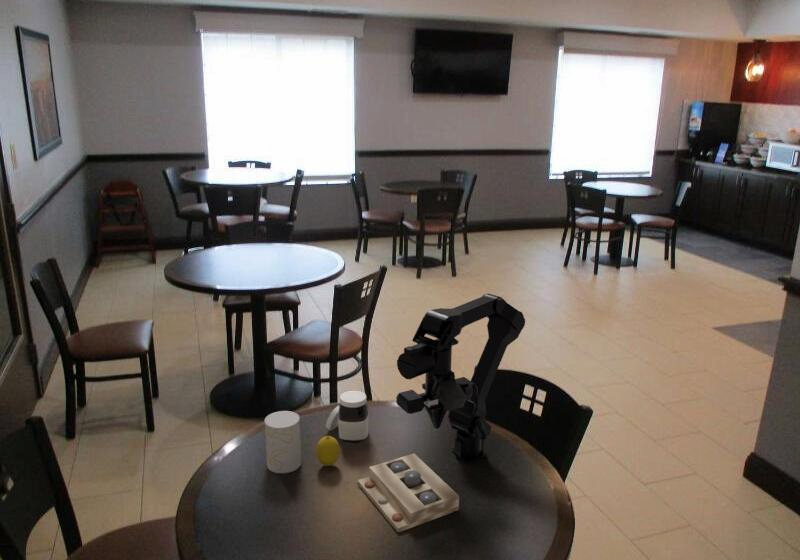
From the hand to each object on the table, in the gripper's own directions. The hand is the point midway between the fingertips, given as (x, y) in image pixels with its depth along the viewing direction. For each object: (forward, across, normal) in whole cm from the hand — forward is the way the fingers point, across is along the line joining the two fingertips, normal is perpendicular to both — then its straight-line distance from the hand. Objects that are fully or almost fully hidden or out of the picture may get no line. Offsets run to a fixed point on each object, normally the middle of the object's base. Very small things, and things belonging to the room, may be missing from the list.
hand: (436, 427), depth 142 cm
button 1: (+11, -9, +2) cm, 14 cm away
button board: (+12, -11, -4) cm, 17 cm away
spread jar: (+12, -11, +26) cm, 31 cm away
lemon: (+12, -21, +15) cm, 28 cm away
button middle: (+9, -9, -4) cm, 14 cm away
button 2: (+11, -9, -11) cm, 18 cm away
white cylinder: (+12, -30, +21) cm, 39 cm away
